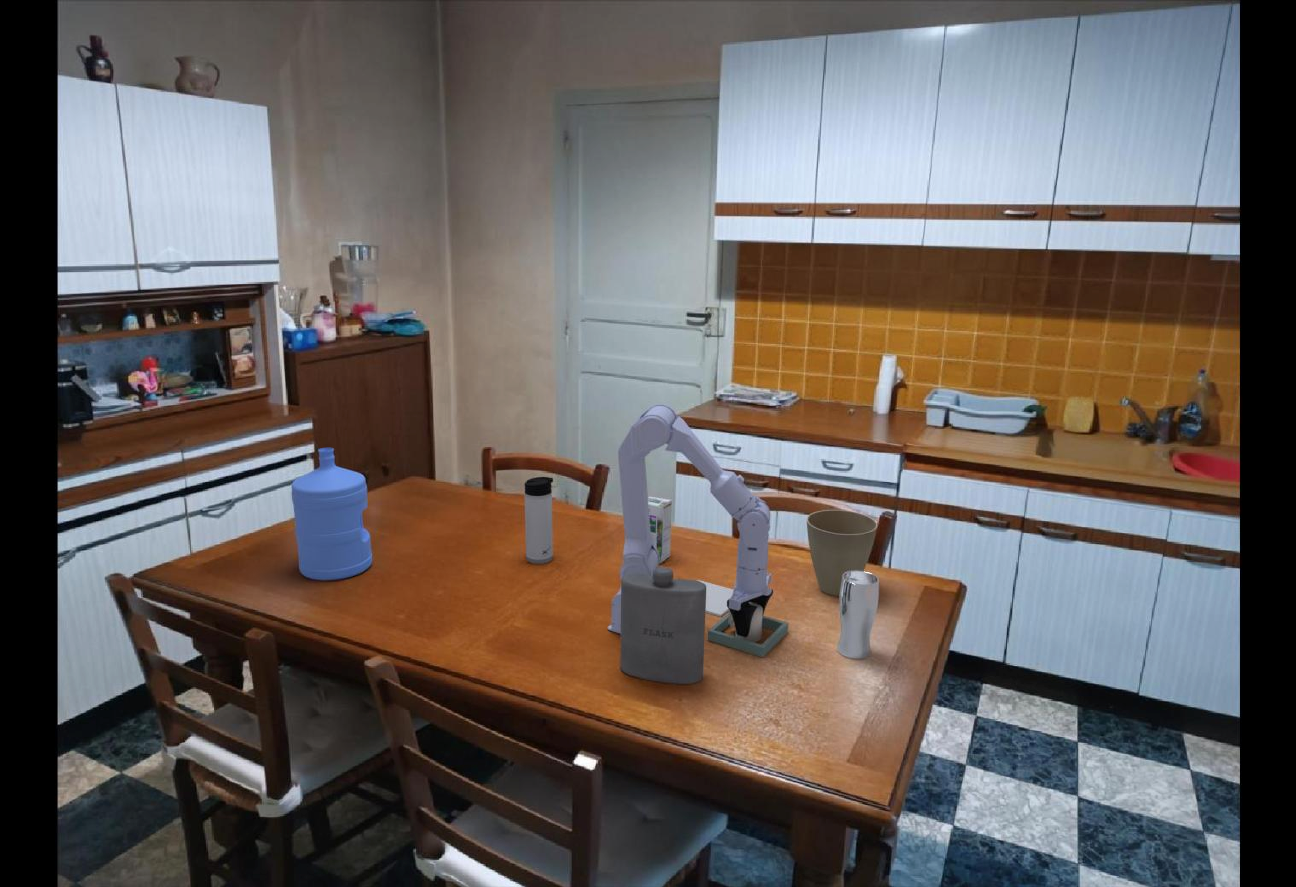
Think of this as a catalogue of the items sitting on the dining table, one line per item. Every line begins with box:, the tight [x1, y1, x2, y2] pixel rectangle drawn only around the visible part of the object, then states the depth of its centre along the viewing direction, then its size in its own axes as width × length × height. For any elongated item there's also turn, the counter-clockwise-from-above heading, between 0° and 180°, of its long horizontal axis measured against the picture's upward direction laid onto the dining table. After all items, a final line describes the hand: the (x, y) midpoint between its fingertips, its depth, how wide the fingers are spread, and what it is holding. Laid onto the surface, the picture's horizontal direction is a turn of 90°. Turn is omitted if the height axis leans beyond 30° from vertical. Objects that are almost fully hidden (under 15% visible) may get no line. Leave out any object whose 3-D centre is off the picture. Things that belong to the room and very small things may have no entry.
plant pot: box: [806, 509, 879, 597], centre depth 174 cm, size 15×15×16 cm
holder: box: [707, 612, 789, 658], centre depth 155 cm, size 12×12×2 cm
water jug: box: [291, 447, 373, 581], centre depth 179 cm, size 16×16×28 cm
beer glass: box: [837, 570, 880, 660], centre depth 148 cm, size 7×7×15 cm
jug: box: [728, 602, 764, 643], centre depth 154 cm, size 7×5×6 cm
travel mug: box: [524, 476, 554, 565], centre depth 186 cm, size 6×7×20 cm
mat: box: [697, 579, 734, 618], centre depth 170 cm, size 12×12×1 cm
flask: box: [619, 566, 706, 685], centre depth 139 cm, size 15×6×20 cm, turn 76°
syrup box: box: [648, 496, 673, 565], centre depth 189 cm, size 6×6×14 cm
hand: (748, 629), depth 154 cm, fingers closed on jug, 5 cm apart
